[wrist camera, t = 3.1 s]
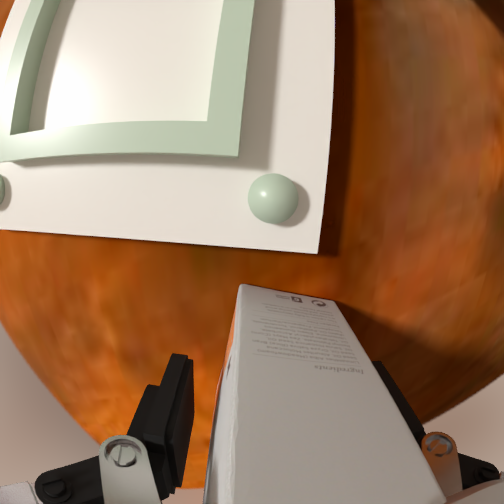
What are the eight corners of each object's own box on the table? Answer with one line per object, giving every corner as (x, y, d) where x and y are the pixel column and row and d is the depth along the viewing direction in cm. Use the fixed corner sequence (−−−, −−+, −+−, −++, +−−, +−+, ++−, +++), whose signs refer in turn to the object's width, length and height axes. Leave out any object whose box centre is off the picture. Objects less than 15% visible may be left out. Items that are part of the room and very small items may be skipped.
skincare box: (237, 279, 12) (216, 644, 1) (334, 298, 12) (492, 565, 1) (213, 390, 14) (187, 627, 2) (295, 402, 14) (337, 621, 2)
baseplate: (324, -59, 8) (335, -89, 5) (308, 244, 12) (325, 263, 9) (47, -32, 7) (27, -49, 5) (-5, 222, 11) (-39, 232, 9)
